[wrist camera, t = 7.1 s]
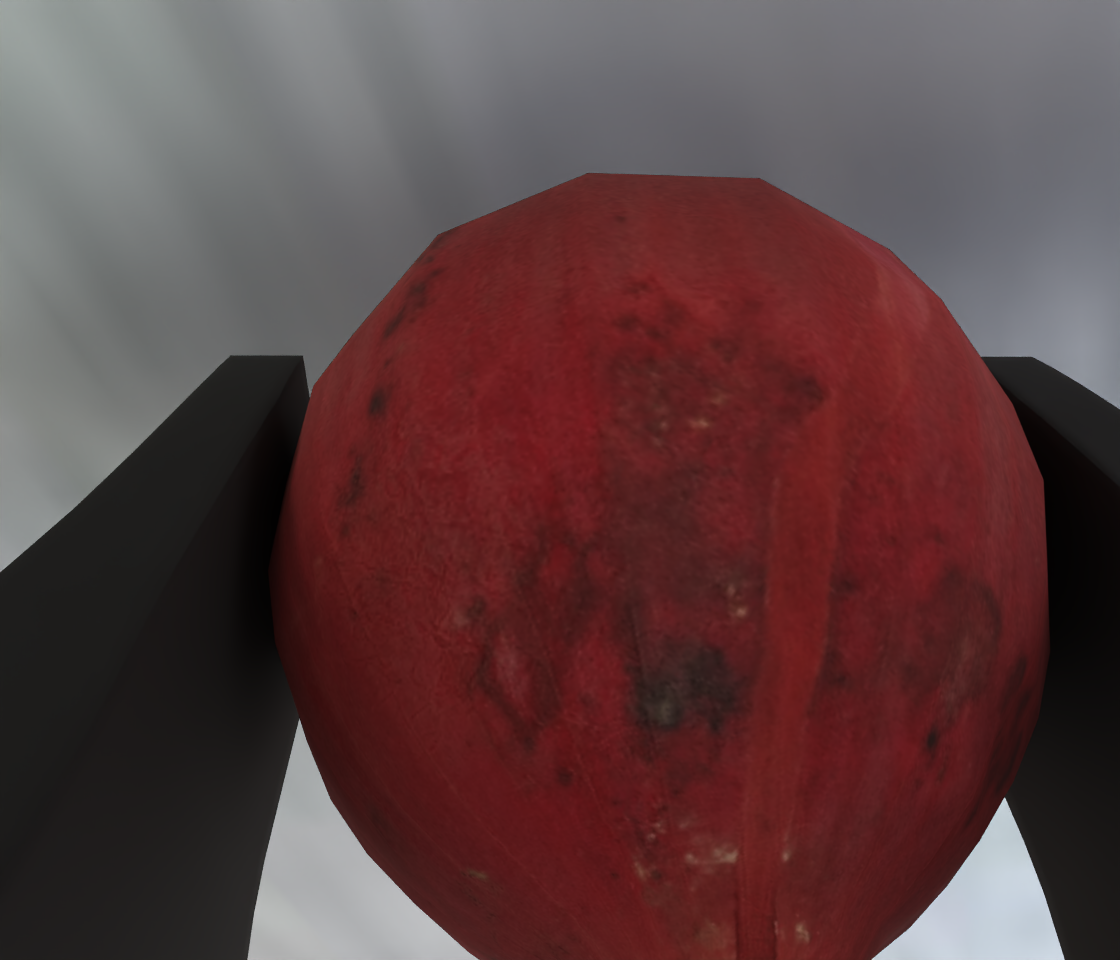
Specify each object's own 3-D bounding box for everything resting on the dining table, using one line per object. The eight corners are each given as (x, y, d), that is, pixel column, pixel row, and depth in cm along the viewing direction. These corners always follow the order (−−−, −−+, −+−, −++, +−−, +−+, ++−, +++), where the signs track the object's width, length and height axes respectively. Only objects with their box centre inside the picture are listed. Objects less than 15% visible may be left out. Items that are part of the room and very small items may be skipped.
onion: (302, 30, 9) (-131, 917, 3) (944, 35, 9) (1805, 865, 3) (370, 516, 13) (244, 1343, 7) (823, 511, 13) (1102, 1303, 7)
